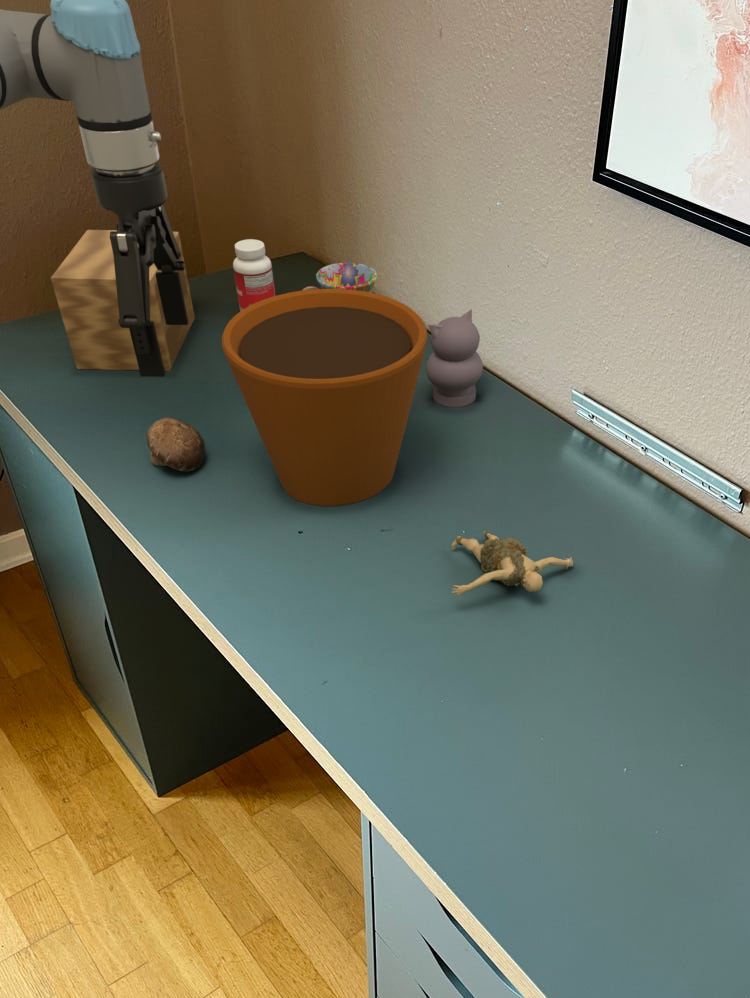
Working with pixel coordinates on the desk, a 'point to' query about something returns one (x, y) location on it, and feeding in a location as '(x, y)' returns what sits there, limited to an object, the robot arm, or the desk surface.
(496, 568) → the figurine
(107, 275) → the wood grain cube
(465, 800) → the desk surface
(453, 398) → the cat figurine
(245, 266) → the pill bottle
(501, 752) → the desk surface
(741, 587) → the desk surface
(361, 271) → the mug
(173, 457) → the mushroom
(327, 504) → the flower pot
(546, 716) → the desk surface
